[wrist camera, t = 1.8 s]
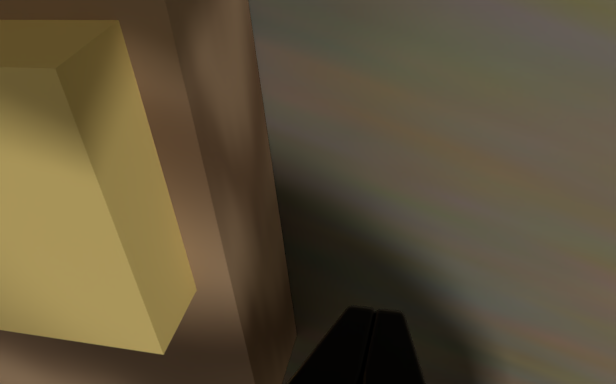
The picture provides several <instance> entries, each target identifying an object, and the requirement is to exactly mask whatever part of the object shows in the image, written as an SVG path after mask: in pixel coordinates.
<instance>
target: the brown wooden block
mask: <svg viewBox="0 0 616 384" xmlns="http://www.w3.org/2000/svg"><path fill="white" fill-rule="evenodd" d="M0 20H119V23H120V27H121V30H122V34H123V37H124V40H125V44H126V47H127V51H128V54H129V58H130V61H131V65H132V68H133V72H134V75H135V78H136V82H137V85H138V89H139V92H140V96H141V99H142V103H143V106H144V109H145V113H146V116H147V120H148V123H149V127H150V130H151V134H152V137H153V140H154V144H155V147H156V151H157V154H158V158H159V161H160V165H161V168H162V172H163V175H164V178H165V182H166V185H167V189H168V192H169V196H170V199H171V203H172V206H173V209H174V213H175V216H176V220H177V223H178V227H179V230H180V234H181V237H182V241H183V244H184V247H185V251H186V254H187V258H188V261H189V265H190V268H191V272H192V275H193V278H194V282H195V285H196V289H197V291H196V293H195V294H194V296H193V298H192V300H191V302H190V304H189V306H188V308H187V310H186V312H185V314H184V316H183V318H182V320H181V322H180V324H179V326H178V328H177V330H176V332H175V334H174V335H173V337H172V339H171V341H170V343H169V345H168V347H167V349H166V351H165V353H164V355H162V354H155V353H149V352H142V351H136V350H129V349H122V348H116V347H109V346H103V345H96V344H89V343H83V342H76V341H70V340H63V339H57V338H50V337H43V336H37V335H30V334H24V333H17V332H10V331H4V330H0V384H282V382H283V379H284V376H285V372H286V369H287V366H288V362H289V359H290V356H291V353H292V349H293V346H294V343H295V339H296V336H297V332H296V325H295V318H294V311H293V304H292V298H291V291H290V284H289V277H288V270H287V263H286V256H285V250H284V243H283V236H282V229H281V222H280V215H279V209H278V202H277V195H276V188H275V181H274V174H273V167H272V161H271V154H270V147H269V140H268V133H267V126H266V119H265V113H264V106H263V99H262V92H261V85H260V78H259V72H258V65H257V58H256V51H255V44H254V37H253V30H252V24H251V17H250V10H249V3H248V0H0Z"/></svg>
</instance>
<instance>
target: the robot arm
mask: <svg viewBox="0 0 616 384" xmlns="http://www.w3.org/2000/svg"><path fill="white" fill-rule="evenodd" d="M287 384H426V383H425V380H424V377H423V373H422V370H421V367H420V364H419V360H418V357H417V354H416V351H415V347H414V344H413V341H412V337H411V334H410V331H409V328H408V324H407V321H406V318H405V315H404V314H403V312H401V311H396V310H388V309H379V310H377V312H376V311H375V309H373V308H371V307H363V306H354V305H353V306H349V307H348V308H347V309H346V310H345V311H344V312H343V314H342V315H341V316H340V318H339V319H338V320H337V321H336V323H335V324H334V325H333V326H332V328H331V329H330V330H329V331H328V333H327V334H326V335H325V336H324V338H323V339H322V340H321V341H320V343H319V344H318V345H317V346H316V348H315V349H314V350H313V351H312V353H311V354H310V355H309V356H308V358H307V359H306V360H305V361H304V363H303V364H302V365H301V367H300V368H299V369H298V370H297V372H296V373H295V374H294V375H293V377H292V378H291V379H290V380H289V382H288V383H287Z"/></svg>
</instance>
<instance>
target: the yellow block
mask: <svg viewBox="0 0 616 384" xmlns="http://www.w3.org/2000/svg"><path fill="white" fill-rule="evenodd" d="M196 291H197V289H196V285H195V282H194V278H193V275H192V272H191V268H190V265H189V261H188V258H187V254H186V251H185V247H184V244H183V241H182V237H181V234H180V230H179V227H178V223H177V220H176V216H175V213H174V209H173V206H172V203H171V199H170V196H169V192H168V189H167V185H166V182H165V178H164V175H163V172H162V168H161V165H160V161H159V158H158V154H157V151H156V147H155V144H154V140H153V137H152V134H151V130H150V127H149V123H148V120H147V116H146V113H145V109H144V106H143V103H142V99H141V96H140V92H139V89H138V85H137V82H136V78H135V75H134V72H133V68H132V65H131V61H130V58H129V54H128V51H127V47H126V44H125V40H124V37H123V34H122V30H121V27H120V23H119V20H0V330H4V331H10V332H17V333H24V334H30V335H37V336H43V337H50V338H57V339H63V340H70V341H76V342H83V343H89V344H96V345H103V346H109V347H116V348H122V349H129V350H136V351H142V352H149V353H155V354H162V355H164V353H165V351H166V349H167V347H168V345H169V343H170V341H171V339H172V337H173V335H174V334H175V332H176V330H177V328H178V326H179V324H180V322H181V320H182V318H183V316H184V314H185V312H186V310H187V308H188V306H189V304H190V302H191V300H192V298H193V296H194V294H195V293H196Z"/></svg>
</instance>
